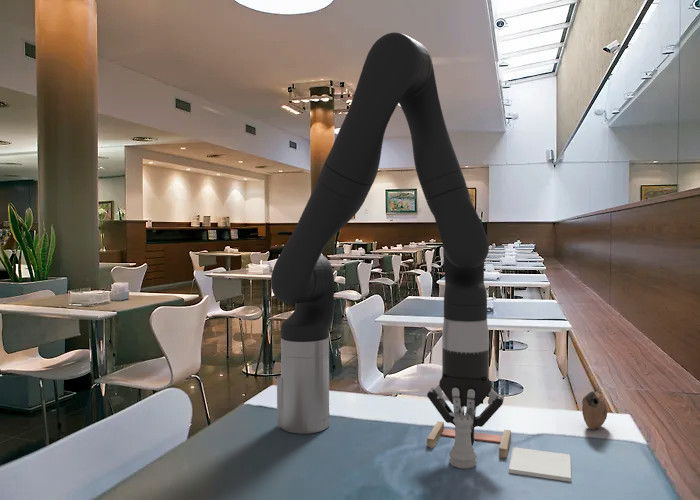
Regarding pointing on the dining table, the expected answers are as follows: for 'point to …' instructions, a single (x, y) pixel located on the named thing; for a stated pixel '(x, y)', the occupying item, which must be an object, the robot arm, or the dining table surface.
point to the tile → (540, 464)
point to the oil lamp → (594, 410)
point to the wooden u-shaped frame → (503, 440)
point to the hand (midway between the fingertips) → (465, 448)
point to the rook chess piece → (463, 443)
